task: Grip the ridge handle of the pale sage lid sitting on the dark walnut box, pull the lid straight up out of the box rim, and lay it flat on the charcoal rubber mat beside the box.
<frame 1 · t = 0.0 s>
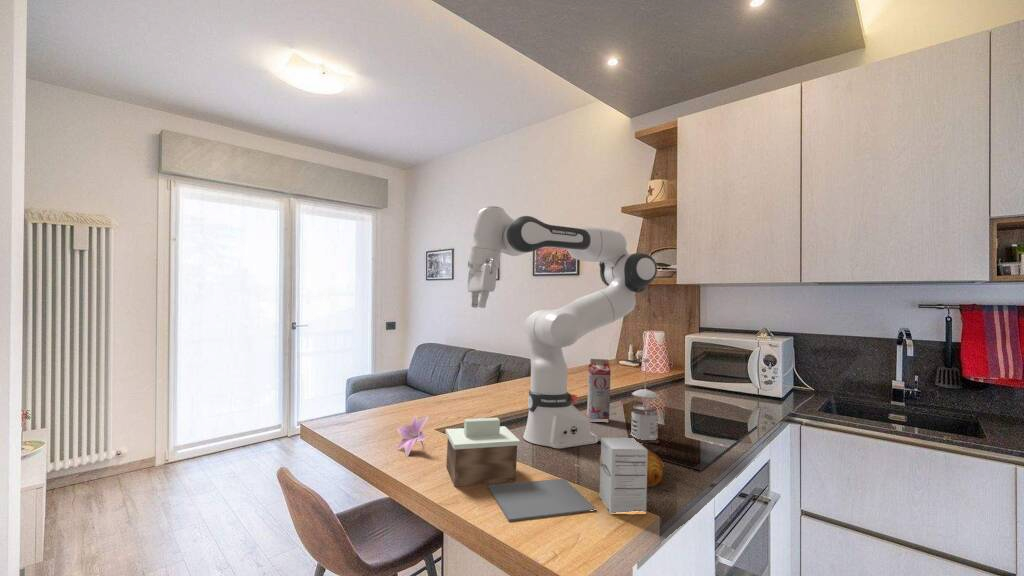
hand: (477, 307, 121), 39 cm above the countertop, fingers open, 8 cm apart
lily: (411, 450, 112), on the countertop
lid: (481, 444, 98), point 7 cm above the countertop, touching box
box: (479, 473, 97), on the countertop
french press: (644, 439, 131), on the countertop
mat: (539, 498, 86), on the countertop
croissant: (632, 476, 100), on the countertop
juice carton: (597, 421, 150), on the countertop
supplement box: (622, 507, 83), on the countertop
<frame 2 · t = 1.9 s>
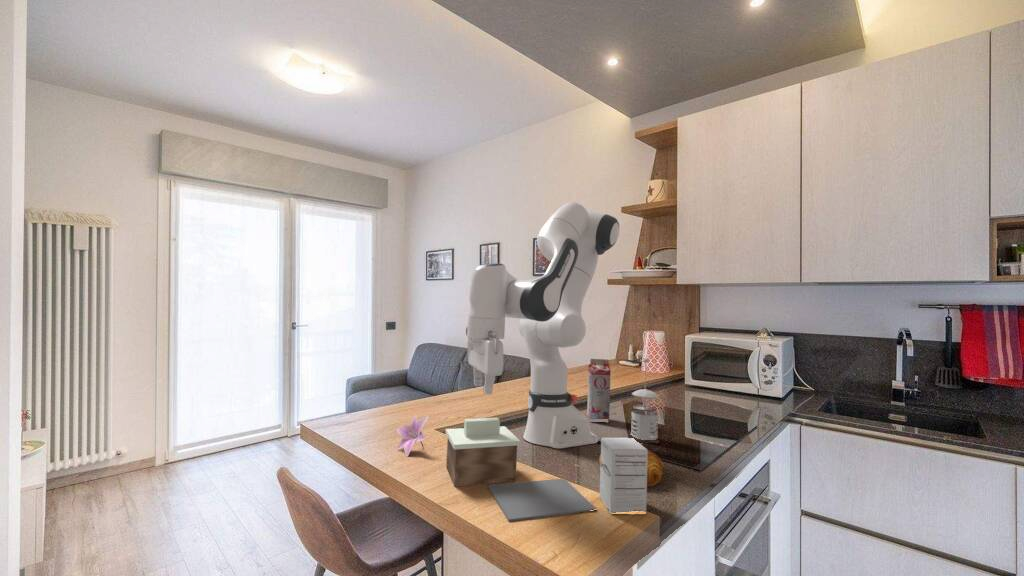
hand: (482, 389, 98), 20 cm above the countertop, fingers open, 8 cm apart
nothing on the countertop moved.
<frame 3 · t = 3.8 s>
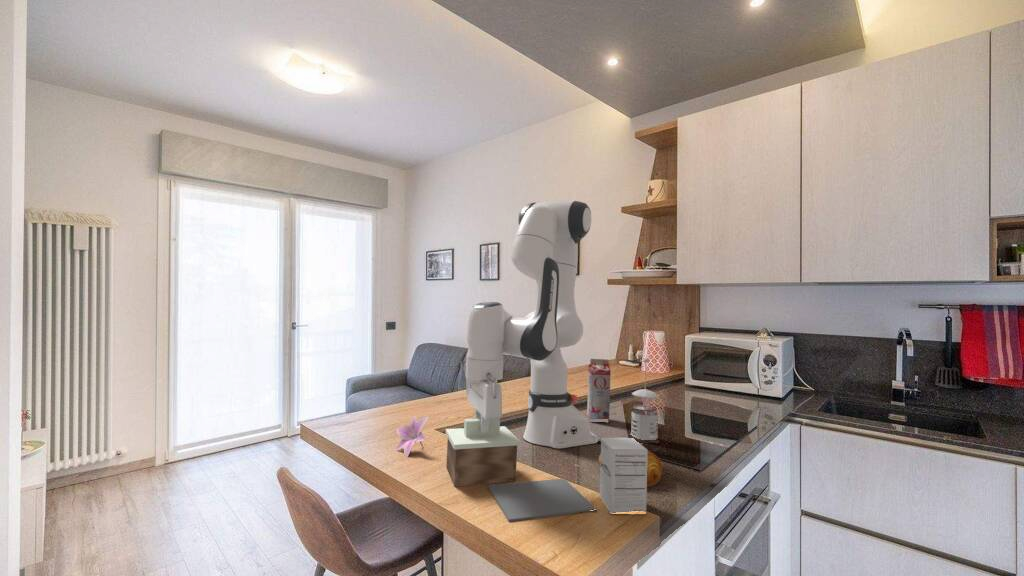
hand: (481, 429, 98), 10 cm above the countertop, fingers closed on lid, 2 cm apart
lid: (481, 444, 98), point 7 cm above the countertop, touching box, gripper
everything else where it was.
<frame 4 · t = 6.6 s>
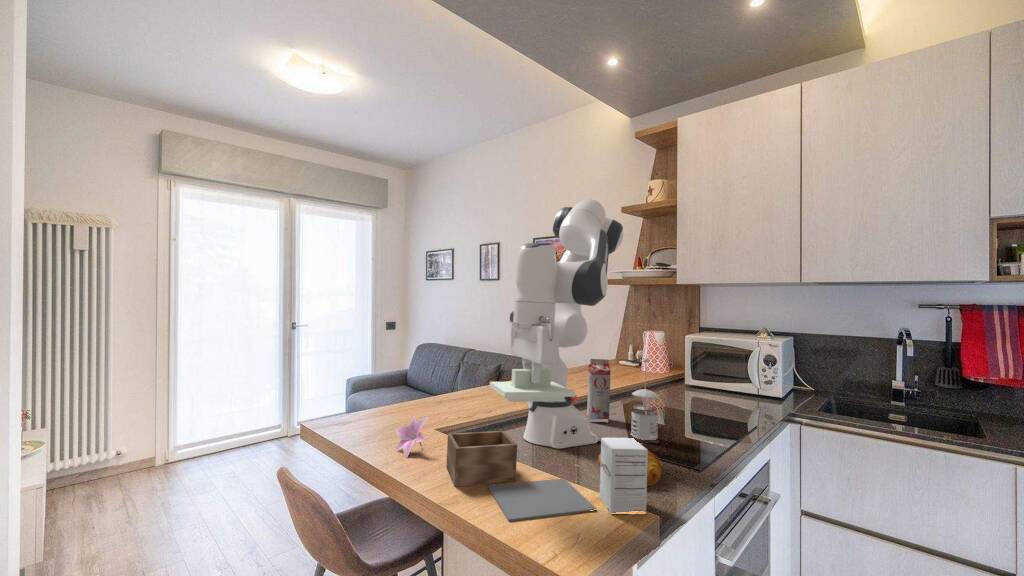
hand: (531, 381, 89), 23 cm above the countertop, fingers closed on lid, 2 cm apart
lid: (530, 396, 89), point 20 cm above the countertop, touching gripper
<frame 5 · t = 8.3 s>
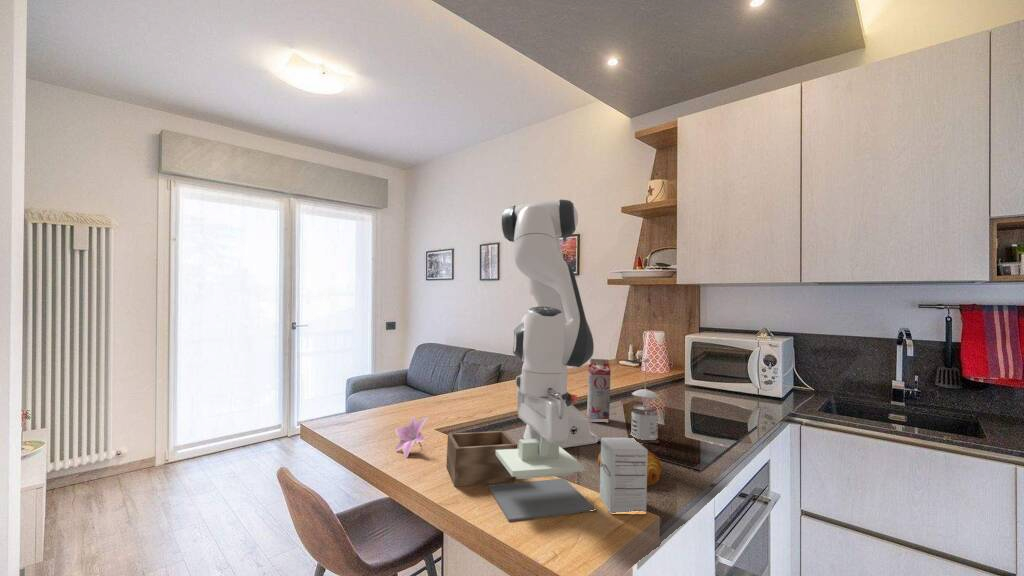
hand: (539, 452, 86), 9 cm above the countertop, fingers closed on lid, 2 cm apart
lid: (537, 468, 86), point 6 cm above the countertop, touching gripper
when the fingers open (5 cm above the countertop, at t = 9.4 s): lid drops 1 cm, resting on mat.
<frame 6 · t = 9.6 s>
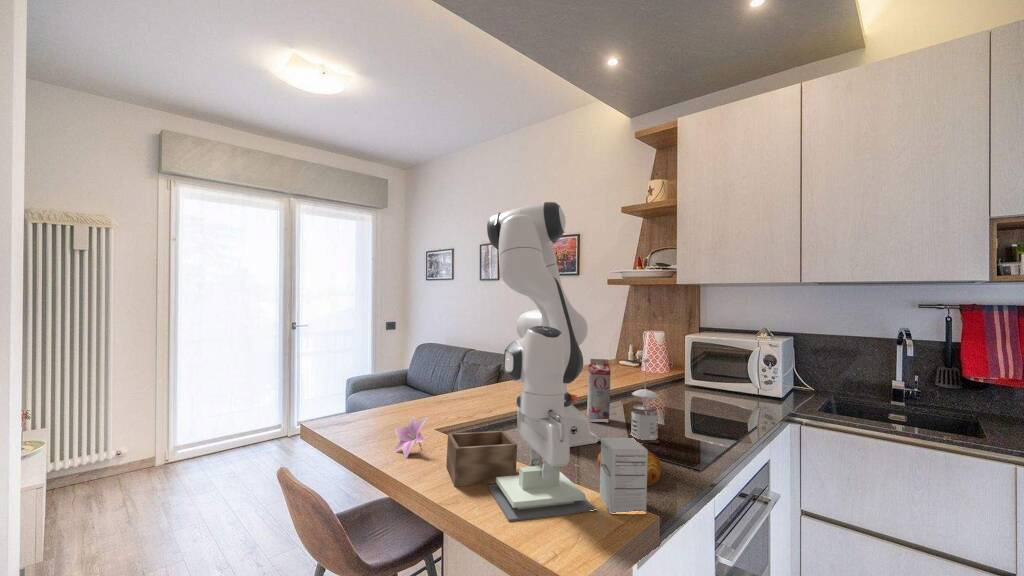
hand: (540, 473, 86), 5 cm above the countertop, fingers open, 4 cm apart
lid: (538, 496, 86), resting on mat
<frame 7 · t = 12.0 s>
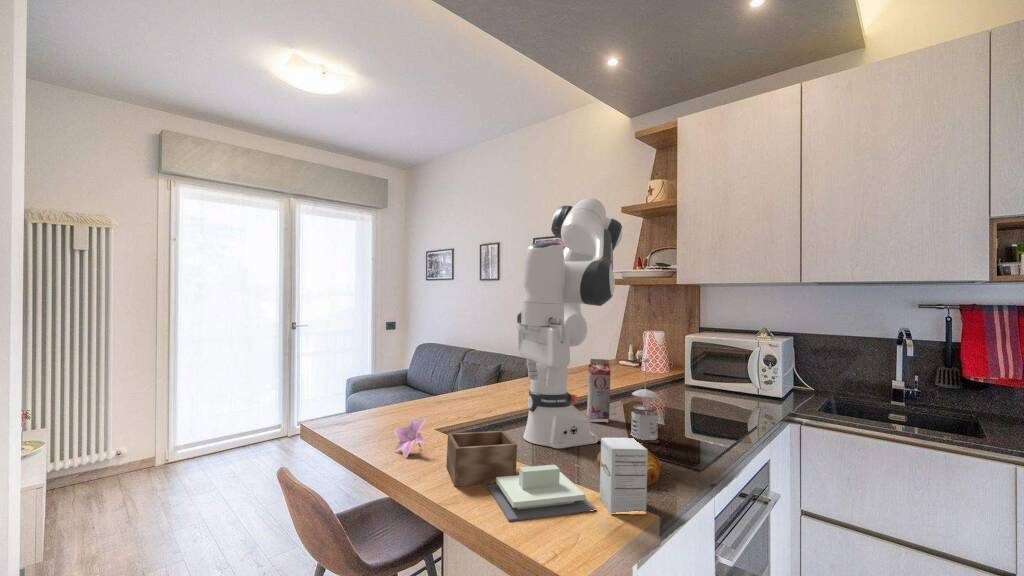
hand: (541, 383, 87), 23 cm above the countertop, fingers open, 8 cm apart
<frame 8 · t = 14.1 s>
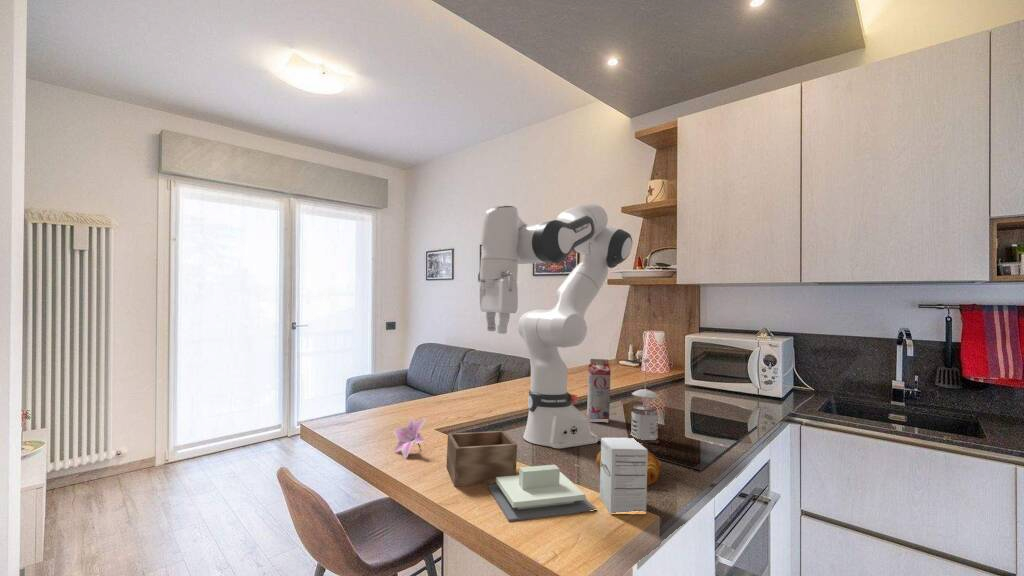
hand: (496, 332, 98), 33 cm above the countertop, fingers open, 8 cm apart
at the end: lid 0.2 cm off-centre on the mat, point 0.4 cm above the mat's base; lid tilted 0°; the gripper is holding nothing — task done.
